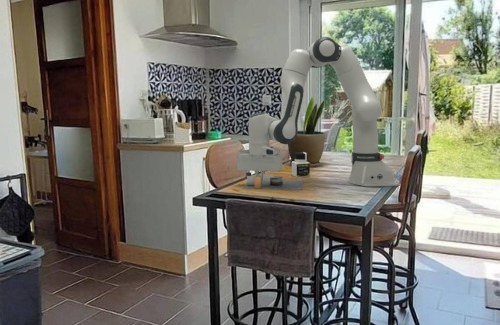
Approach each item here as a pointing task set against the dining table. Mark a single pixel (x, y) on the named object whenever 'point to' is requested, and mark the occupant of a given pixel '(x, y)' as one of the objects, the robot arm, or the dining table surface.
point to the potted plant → (309, 136)
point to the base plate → (285, 186)
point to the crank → (265, 179)
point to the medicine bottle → (300, 165)
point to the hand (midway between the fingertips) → (260, 180)
